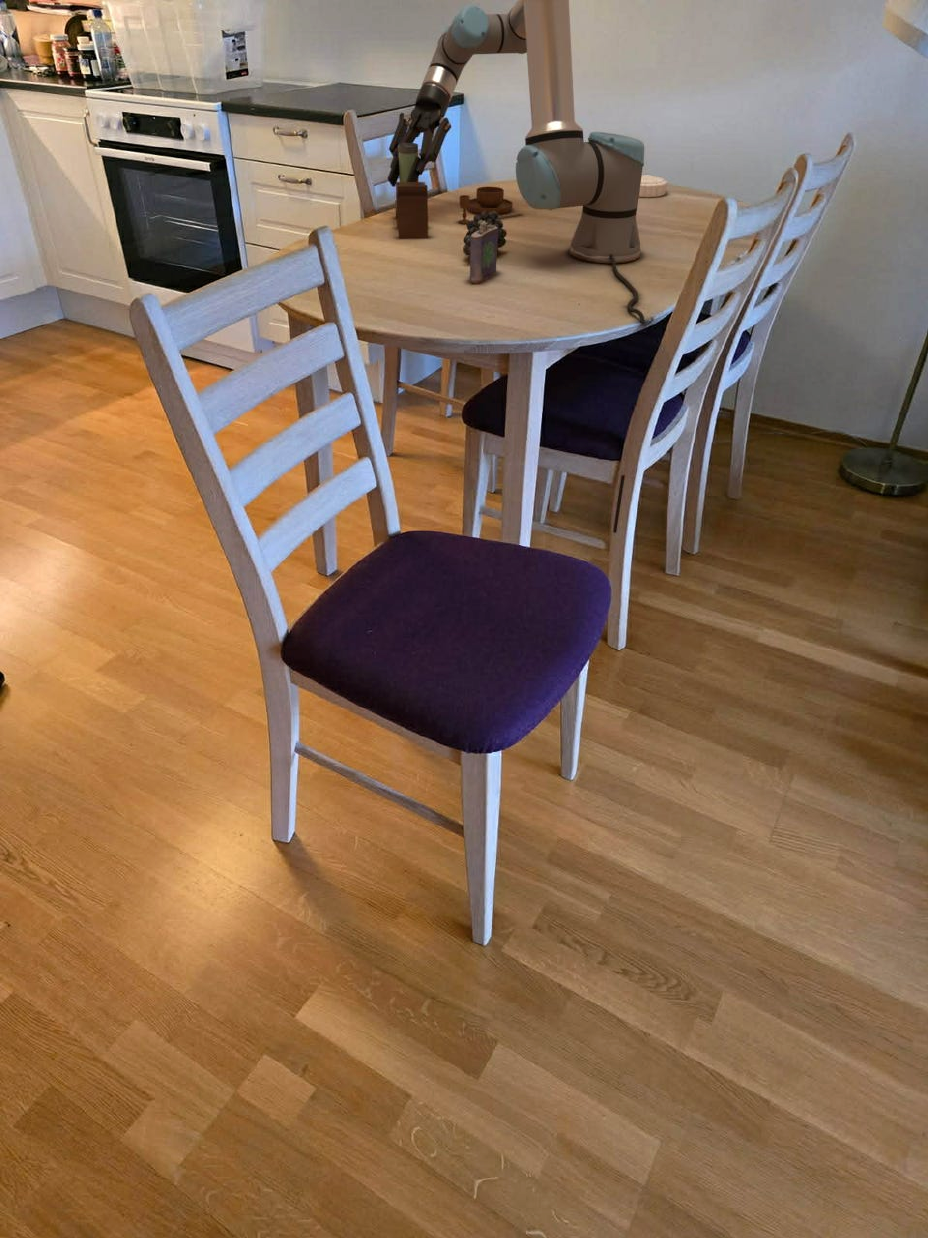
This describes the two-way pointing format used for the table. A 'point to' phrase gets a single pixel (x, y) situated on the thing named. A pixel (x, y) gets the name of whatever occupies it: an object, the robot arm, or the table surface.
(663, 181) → the mooncake
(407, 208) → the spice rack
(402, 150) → the spice jar
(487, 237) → the flask
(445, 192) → the table surface
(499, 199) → the place setting
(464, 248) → the fruit
